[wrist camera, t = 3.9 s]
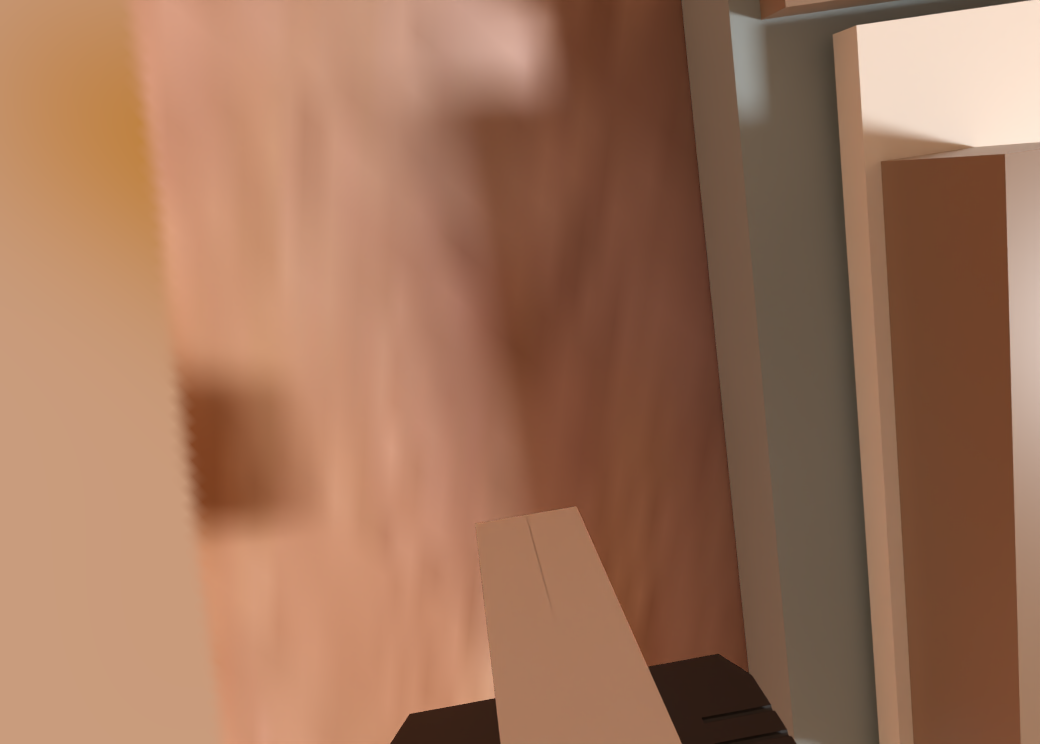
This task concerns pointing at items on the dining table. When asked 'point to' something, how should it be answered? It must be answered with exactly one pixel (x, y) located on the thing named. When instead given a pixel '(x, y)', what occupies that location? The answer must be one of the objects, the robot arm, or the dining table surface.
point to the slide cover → (948, 363)
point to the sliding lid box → (789, 344)
